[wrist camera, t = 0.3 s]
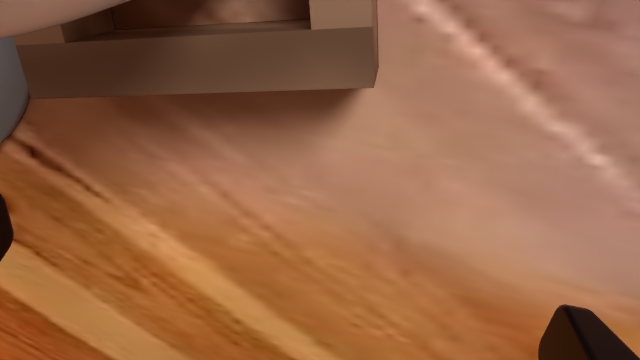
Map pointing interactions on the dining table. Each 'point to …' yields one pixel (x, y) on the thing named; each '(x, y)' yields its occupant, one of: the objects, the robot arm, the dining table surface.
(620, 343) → the robot arm
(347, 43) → the wooden holder tray
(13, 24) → the drinking glass
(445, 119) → the dining table surface
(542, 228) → the dining table surface
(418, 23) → the dining table surface
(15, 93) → the slate mat
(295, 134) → the dining table surface
